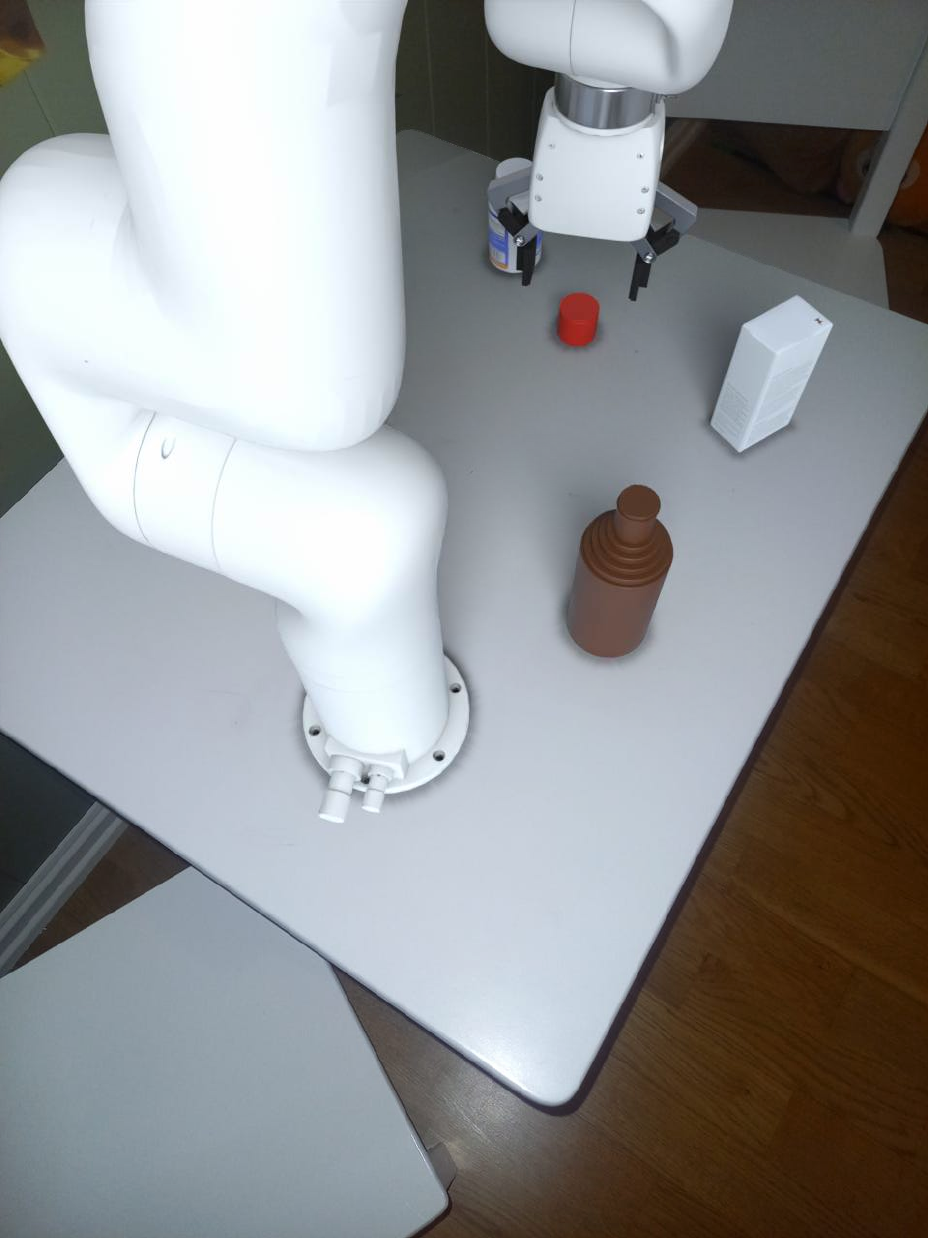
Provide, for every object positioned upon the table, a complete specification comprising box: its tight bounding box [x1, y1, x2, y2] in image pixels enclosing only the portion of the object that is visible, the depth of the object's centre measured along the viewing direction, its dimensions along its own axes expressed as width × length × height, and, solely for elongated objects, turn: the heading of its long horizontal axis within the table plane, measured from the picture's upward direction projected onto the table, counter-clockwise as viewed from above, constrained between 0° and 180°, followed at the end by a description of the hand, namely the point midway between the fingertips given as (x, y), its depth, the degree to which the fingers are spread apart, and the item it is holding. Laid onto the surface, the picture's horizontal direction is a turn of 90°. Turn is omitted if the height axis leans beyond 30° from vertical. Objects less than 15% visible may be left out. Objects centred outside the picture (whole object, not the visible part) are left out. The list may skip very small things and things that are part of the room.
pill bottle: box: [488, 157, 543, 274], centre depth 84 cm, size 5×5×10 cm
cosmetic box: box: [710, 294, 834, 453], centre depth 72 cm, size 6×4×12 cm
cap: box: [556, 292, 601, 347], centre depth 82 cm, size 4×4×3 cm
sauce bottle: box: [566, 483, 674, 659], centre depth 61 cm, size 6×6×16 cm
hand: (580, 283), depth 76 cm, fingers open, 9 cm apart
